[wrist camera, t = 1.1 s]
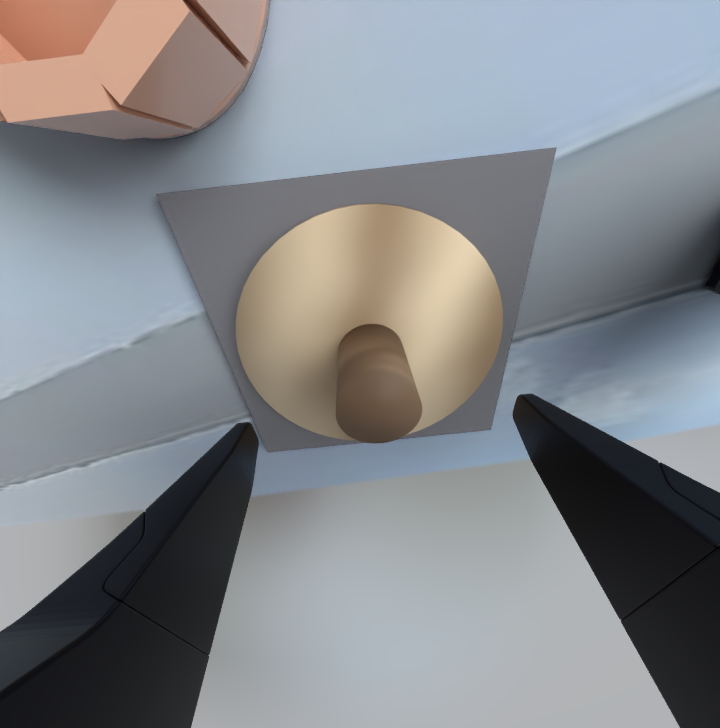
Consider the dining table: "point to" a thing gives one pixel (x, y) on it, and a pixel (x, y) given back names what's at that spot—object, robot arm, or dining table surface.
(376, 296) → the oak lid
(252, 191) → the rubber mat
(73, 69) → the terracotta bowl
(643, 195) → the dining table surface
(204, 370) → the dining table surface
